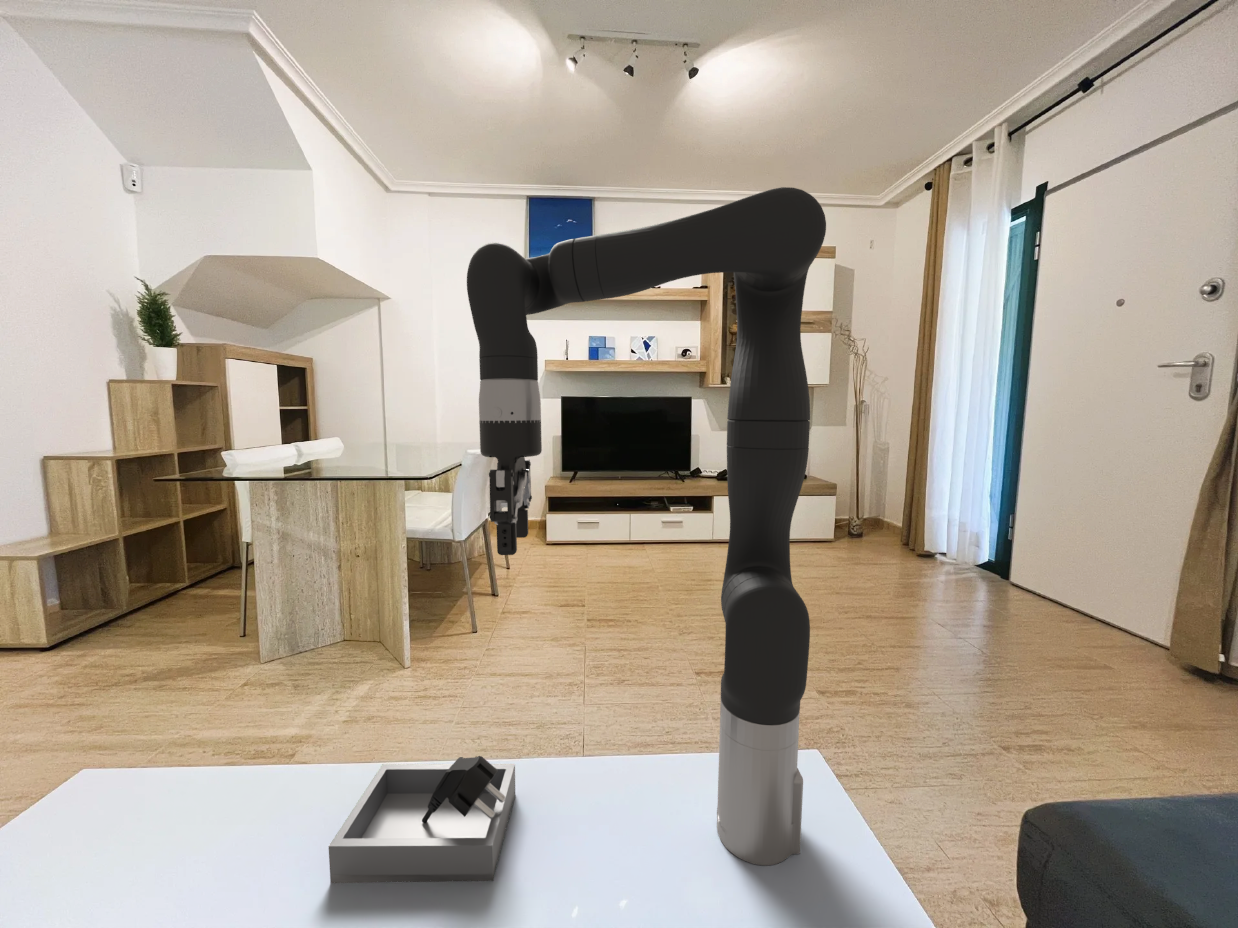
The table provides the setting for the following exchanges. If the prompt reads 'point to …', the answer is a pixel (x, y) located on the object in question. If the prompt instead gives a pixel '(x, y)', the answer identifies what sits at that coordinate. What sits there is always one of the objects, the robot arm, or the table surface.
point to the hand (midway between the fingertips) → (514, 545)
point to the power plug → (465, 787)
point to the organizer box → (419, 830)
